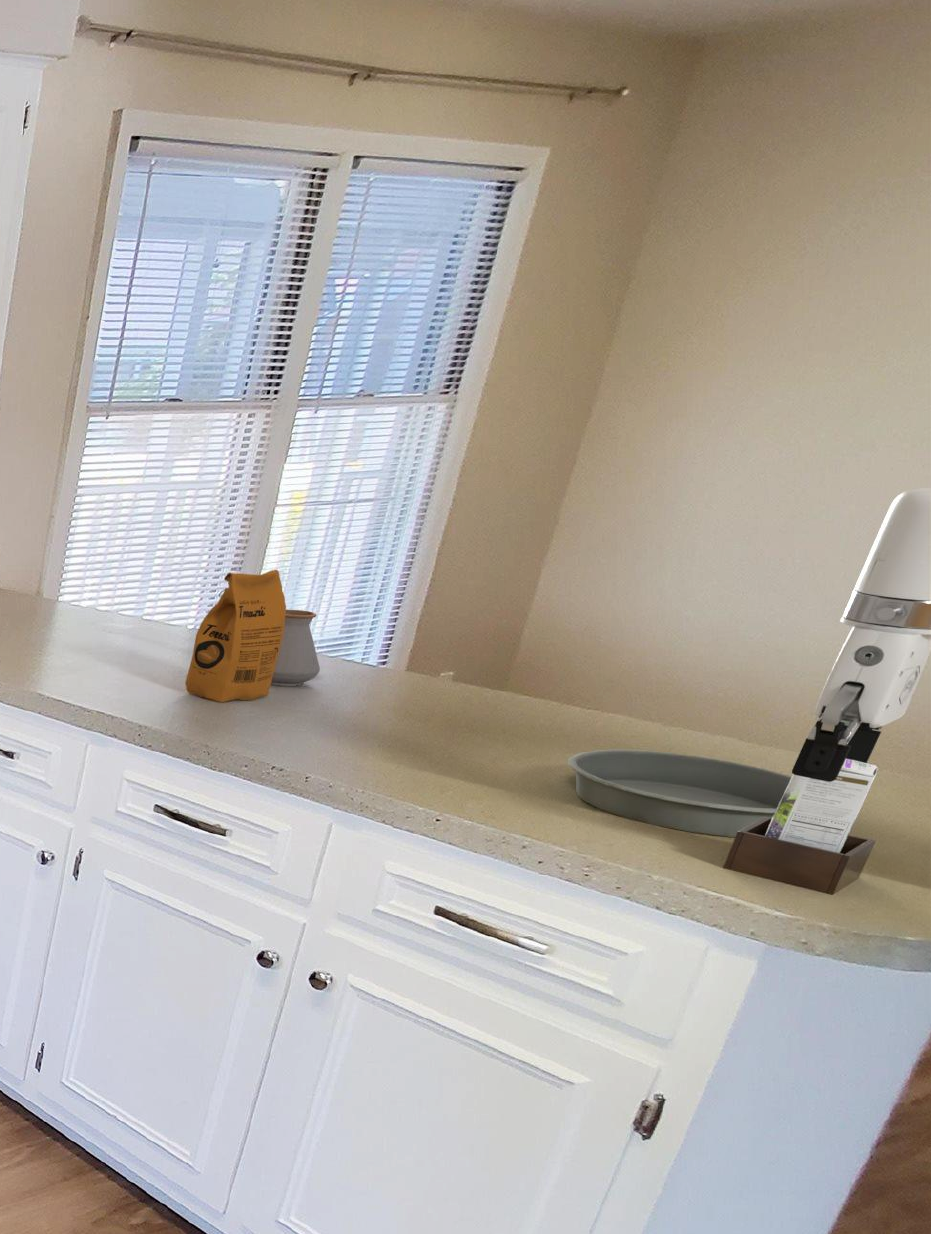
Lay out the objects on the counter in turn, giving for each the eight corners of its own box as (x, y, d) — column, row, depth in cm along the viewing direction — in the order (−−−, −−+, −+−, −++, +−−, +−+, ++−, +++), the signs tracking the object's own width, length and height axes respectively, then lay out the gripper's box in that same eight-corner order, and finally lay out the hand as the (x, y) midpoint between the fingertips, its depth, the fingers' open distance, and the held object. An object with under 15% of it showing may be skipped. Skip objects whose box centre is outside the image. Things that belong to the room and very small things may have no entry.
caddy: (853, 890, 129) (876, 840, 127) (827, 907, 125) (849, 856, 123) (745, 864, 136) (765, 816, 134) (717, 880, 132) (737, 831, 130)
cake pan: (536, 769, 169) (546, 740, 167) (771, 794, 157) (784, 762, 156) (589, 825, 148) (601, 791, 147) (863, 857, 137) (879, 822, 136)
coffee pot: (331, 685, 214) (352, 604, 208) (283, 691, 211) (303, 608, 205) (229, 660, 233) (246, 585, 228) (184, 665, 230) (200, 589, 225)
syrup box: (749, 870, 135) (799, 751, 129) (825, 886, 130) (879, 763, 125) (744, 884, 131) (795, 761, 126) (822, 900, 127) (877, 774, 122)
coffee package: (173, 690, 213) (199, 569, 205) (231, 685, 215) (258, 565, 207) (218, 704, 203) (246, 577, 196) (277, 699, 206) (307, 574, 198)
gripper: (929, 629, 113) (852, 794, 119) (979, 610, 121) (904, 766, 127) (818, 615, 119) (750, 773, 125) (873, 598, 127) (806, 748, 133)
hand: (828, 770), depth 126 cm, fingers open, 9 cm apart
